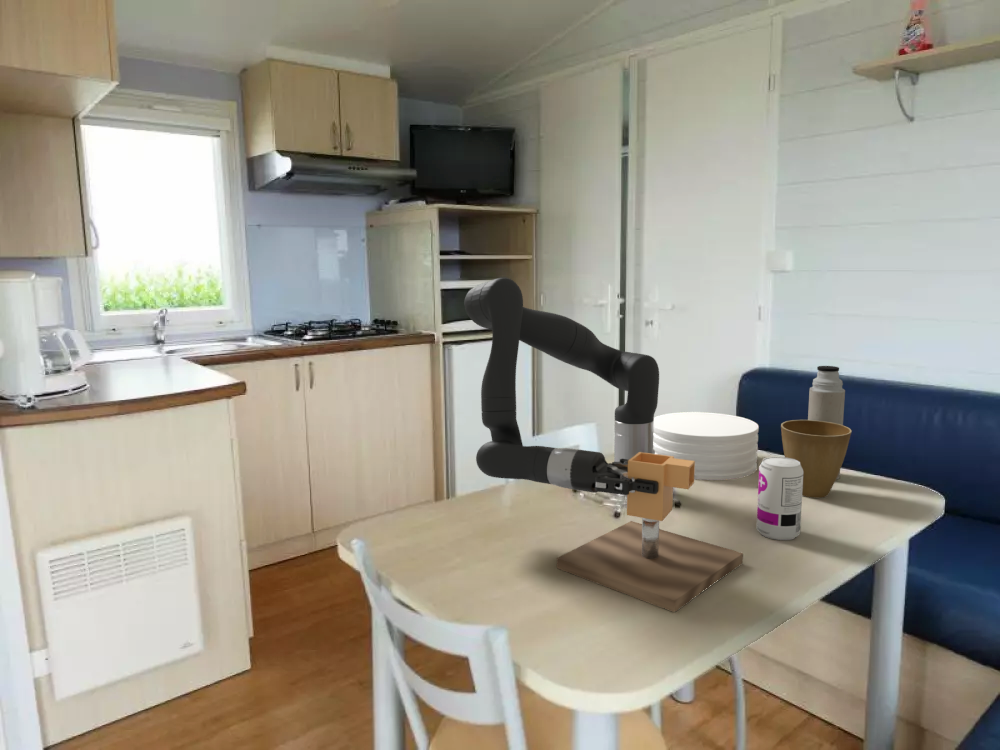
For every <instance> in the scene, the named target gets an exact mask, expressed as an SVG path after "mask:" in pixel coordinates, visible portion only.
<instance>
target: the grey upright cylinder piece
mask: <svg viewBox="0 0 1000 750" xmlns="http://www.w3.org/2000/svg"><path fill="white" fill-rule="evenodd" d="M641 524H642V556H643V557H644V558H647V559H656V558H658V557H659V529H660V521H658V520H652V519H647V518H641Z"/></svg>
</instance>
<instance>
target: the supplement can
mask: <svg viewBox="0 0 1000 750" xmlns="http://www.w3.org/2000/svg"><path fill="white" fill-rule="evenodd" d="M802 489H803V469H802V467H801V465H800V462H799V461H797V460H795V459H791V458H786V457H785V456H769V457H764V458H762V461H761V463H760V464H759V466H758V486H757V507H756V509H757V510H756V530H757V532H759V534H761V536H763V537H765V538H767V539H772V540H777V541H790V540H794V539H796V538H797V537H798V536H799V535H800V534H801V527H802V526H801V525H802V507H803V505H802V504H803V496H802ZM795 537H796V538H795Z"/></svg>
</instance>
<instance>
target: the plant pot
mask: <svg viewBox="0 0 1000 750" xmlns="http://www.w3.org/2000/svg"><path fill="white" fill-rule="evenodd" d="M780 429H781V441H782V449H783V454H784V457H786V458H791V459H795V460H797V461H799V462H800V465H801V467H802V469H803V489H802V497H806V498H814V499H822V498H825V497H828V496H829V495H830V492H831V490H832V488H833V486H834V484H835V483H836V481H837V479H836V478H837V476H838V474H839V471H840V472H841V468H842V466H843V463H844V461H845V457H846V455H847V450H848V448H849V447H848V446H849V443H850V439H851V435H852V429H851V428H850V427H848V426H845V425H844V424H843V425H840V424H836V423H831V422H824V421H816V420H808V419H792V420H786V421H783V422H782V423H780Z"/></svg>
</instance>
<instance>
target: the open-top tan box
mask: <svg viewBox="0 0 1000 750" xmlns="http://www.w3.org/2000/svg"><path fill="white" fill-rule="evenodd" d="M694 472H695V461H691V460H683V459H676V458H674V456H667V455H659V454H651V453H643V452H639V453H637V454H636V455H635V456H634V457H632V458H631V459H630V460H628V476H630V477H635V478H636V480H637V479H638V478H640V479H647V480H654V481H657V482H658V483H659V488H658V493H657V494H651V493H644V492H638V491H637V490H636V492H634V493H631V492H629V495H626V496H627V497H626V516H629V517H630V516H631V517H635V518H636V517H637V518H641V519H642V518H647V519H652V520H658V521H659V522H663V521H664V520H665V518H667V517H668V515H669V514H670V513H671V512H672V511H673V505H674V504H673V503H674V502H673V501H674V498H673V497H674V495H673V494H674V488H677V489H683V490H689V489H691V487H692V486H693V485H694V483H695V479H694Z"/></svg>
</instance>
